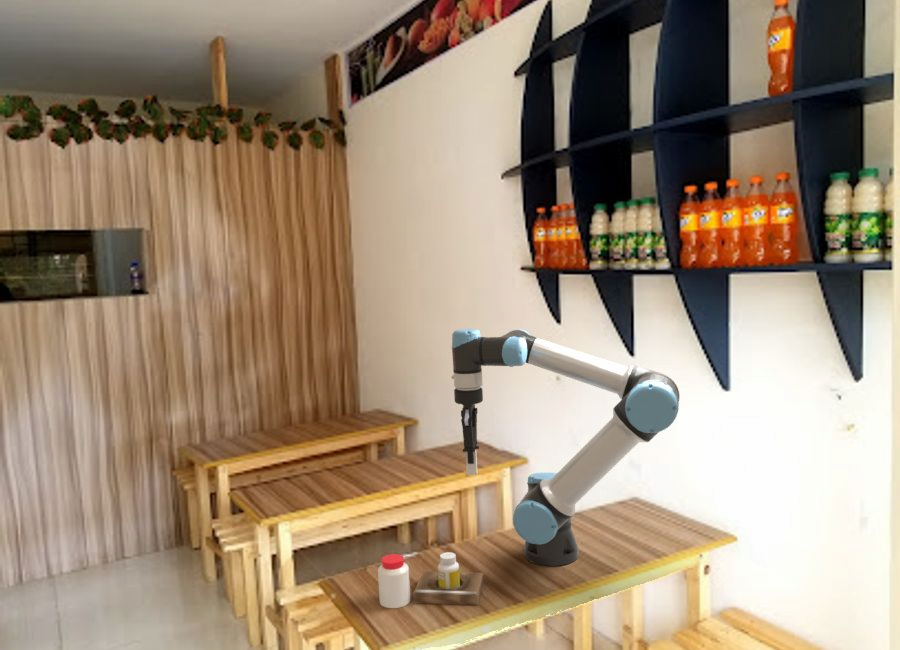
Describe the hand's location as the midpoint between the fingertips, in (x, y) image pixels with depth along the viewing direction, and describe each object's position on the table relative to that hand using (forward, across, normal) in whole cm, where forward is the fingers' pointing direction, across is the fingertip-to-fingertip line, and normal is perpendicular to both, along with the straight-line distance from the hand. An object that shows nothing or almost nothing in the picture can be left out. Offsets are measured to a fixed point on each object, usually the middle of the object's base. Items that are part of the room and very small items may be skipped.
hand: (472, 474), depth 191 cm
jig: (+26, +14, -5) cm, 30 cm away
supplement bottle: (+27, +14, -5) cm, 30 cm away
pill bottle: (+27, +19, -18) cm, 37 cm away
